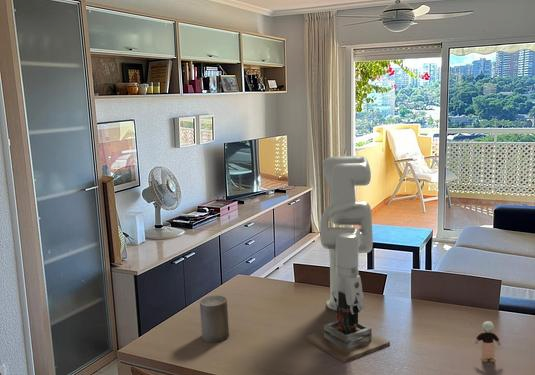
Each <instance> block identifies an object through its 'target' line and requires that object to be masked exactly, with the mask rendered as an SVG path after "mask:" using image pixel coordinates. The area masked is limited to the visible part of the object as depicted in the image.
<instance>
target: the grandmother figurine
mask: <svg viewBox="0 0 535 375" xmlns="http://www.w3.org/2000/svg"><path fill="white" fill-rule="evenodd" d="M494 328H495V327H494V324H493V322H492V321H489V320H487V321H484V322H483V323H482V330H483V331H484V332H481V333H480V334H478V335H477V336H476V339H475V340H474V344H475V345H478V344H479V342H480V341H481V356H480V360H481V361H482V362H485V363H486V362H488V361H490V362H492V363H494V362H496V357H495V354H496V353H495V352H496V351H495V342H496V344H497V346H498V347H501V345H502V343H501V341H500V338H499V337H498V336H497V335H496V334H495V333H493V330H494ZM494 341H495V342H494Z"/></svg>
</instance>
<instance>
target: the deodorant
mask: <svg viewBox="0 0 535 375" xmlns="http://www.w3.org/2000/svg"><path fill="white" fill-rule="evenodd" d="M354 304H355V302H354ZM353 308H354V309H355V306H353ZM350 314H351V311H350V307H349V305H348V304H347V301H346V296H345V294H343V293H341V292H339V291H338V318H337V319H338V320H339V332H341V333H343V334H345V335H348V334H351V333H354V332H356V324H354V325H350ZM338 320H337V321H338Z"/></svg>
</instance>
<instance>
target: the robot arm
mask: <svg viewBox="0 0 535 375" xmlns="http://www.w3.org/2000/svg"><path fill="white" fill-rule="evenodd" d="M322 172H323V175H324V179H325V182H326V184H327V185H328V189H329V205H328V206H326V208H325V209H324V211H323V212H322V215H321V217H320V222H319V228H320V230H319V231H320V234H319V235H320V237H319V238H320V239H319V240H320V244H321V246H322V248H324V249H326V250H328V253H329V254H328V255H329V272H330V273H329V278H330V279H329V283H330V284H329V287H330V290H329V291H330V294H329V295H330V298H329V299H327V301H326V307H327V309H330V310H332V311H336V318H337V319H338V291H339V292H341V293H343V294H345V296H346V301H347V304H348V305H349V307H350V311H351V314H350V325H354V324H357V323H358V322H359V313H360V312H361V311H362V310H363V309H364V308H365V305H364V303H363V299H364V293H363V285H362V280H361V275H359V273H360V271H359V254H368V253H370V252H371V251H372V250H373V244H374V242H373V241H374V239H373V238H374V237H373V216H372V209H371V206H370V204H369V203H368V202H367V201H365V200H364V201H363V200H359V201H358V200H357V201H356V187H357V186H359V187H360V186H368V185H369V184H370V182H371V178H372V174H371V173H372V172H371V167H370V164H369V160H368V159H367V157H365V156H363V155H345V156H344V155H343V156H338V155H337V156H330V157H327V158H325V159H324V160H323V162H322ZM330 220H331V223H332V224H333V225H335V226H348V227H334V226H333V227H329V221H330ZM349 226H351V227H349ZM353 226H358V227H359V228H358V227H353ZM354 302H355V304H354ZM353 306H355V309H354V308H353Z"/></svg>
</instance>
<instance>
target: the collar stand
mask: <svg viewBox="0 0 535 375" xmlns="http://www.w3.org/2000/svg"><path fill="white" fill-rule="evenodd" d="M306 340H308V341H309V342H310V343H312V344H313V345H315V346H317V347H318V348H320V349H322V350H323V351H324V352H326V353H328V354H330V355H331V356H333V357H334V358H336V359H338V360H339V361H341V362H342V363H348V362H349V361H353V360H354V359H357V358H360V357H362V356H366V355H368V354H371V353H373V352H376V351H378V350H381V349H383V348H386V347H388V346H391V341H389V340H387V339H385V338H383V337H381V335H378V334H375V333H374V332H373V331H372V327H370V326H368V325H366V324H364V323H361V322H360V321H358V323H357V324H356V332H354V333H351V334H348V335H345V334H343V333H341V332H339V320H336V321H333V322H330V323H329V322H328V323H327V324H324V325H323V330H320V331H318V332H314V333H311V334H309V335H306Z"/></svg>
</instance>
